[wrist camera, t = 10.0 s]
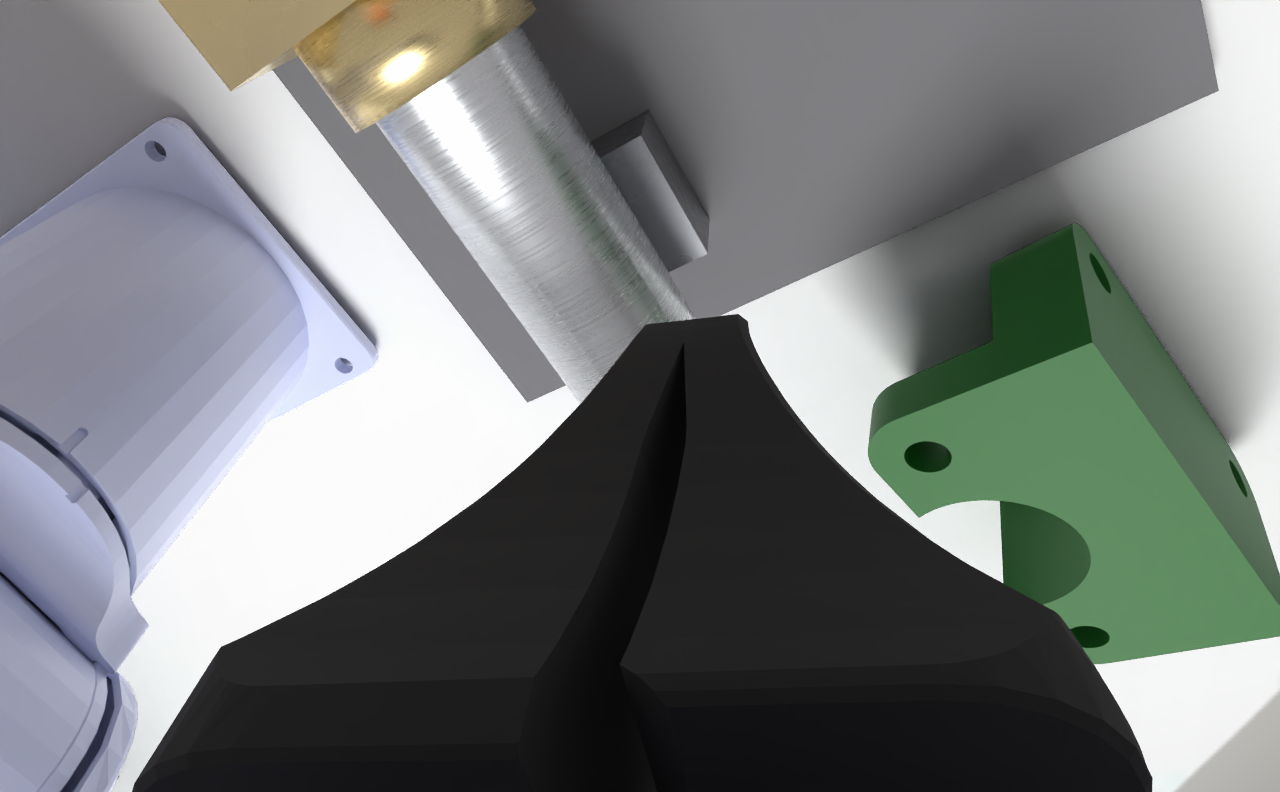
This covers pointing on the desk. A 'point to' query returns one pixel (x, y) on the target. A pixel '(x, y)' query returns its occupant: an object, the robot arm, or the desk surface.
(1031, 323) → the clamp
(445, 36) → the pipe and valve
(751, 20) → the pipe mat
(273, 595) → the desk surface
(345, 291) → the desk surface
